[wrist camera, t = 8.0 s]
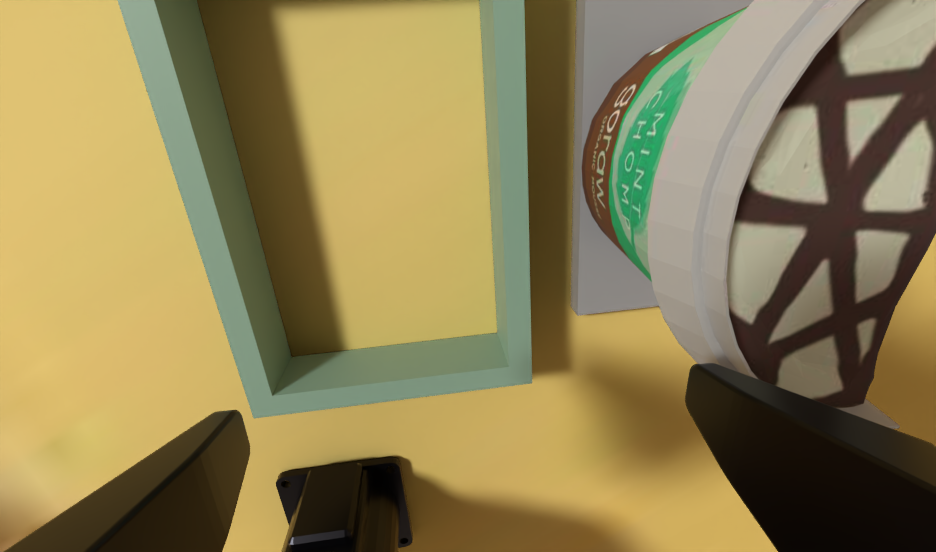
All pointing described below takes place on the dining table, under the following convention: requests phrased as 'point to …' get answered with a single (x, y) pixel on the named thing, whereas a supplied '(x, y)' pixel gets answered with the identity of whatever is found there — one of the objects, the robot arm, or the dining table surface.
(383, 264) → the dining table surface
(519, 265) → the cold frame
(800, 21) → the food container
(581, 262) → the slate tile
